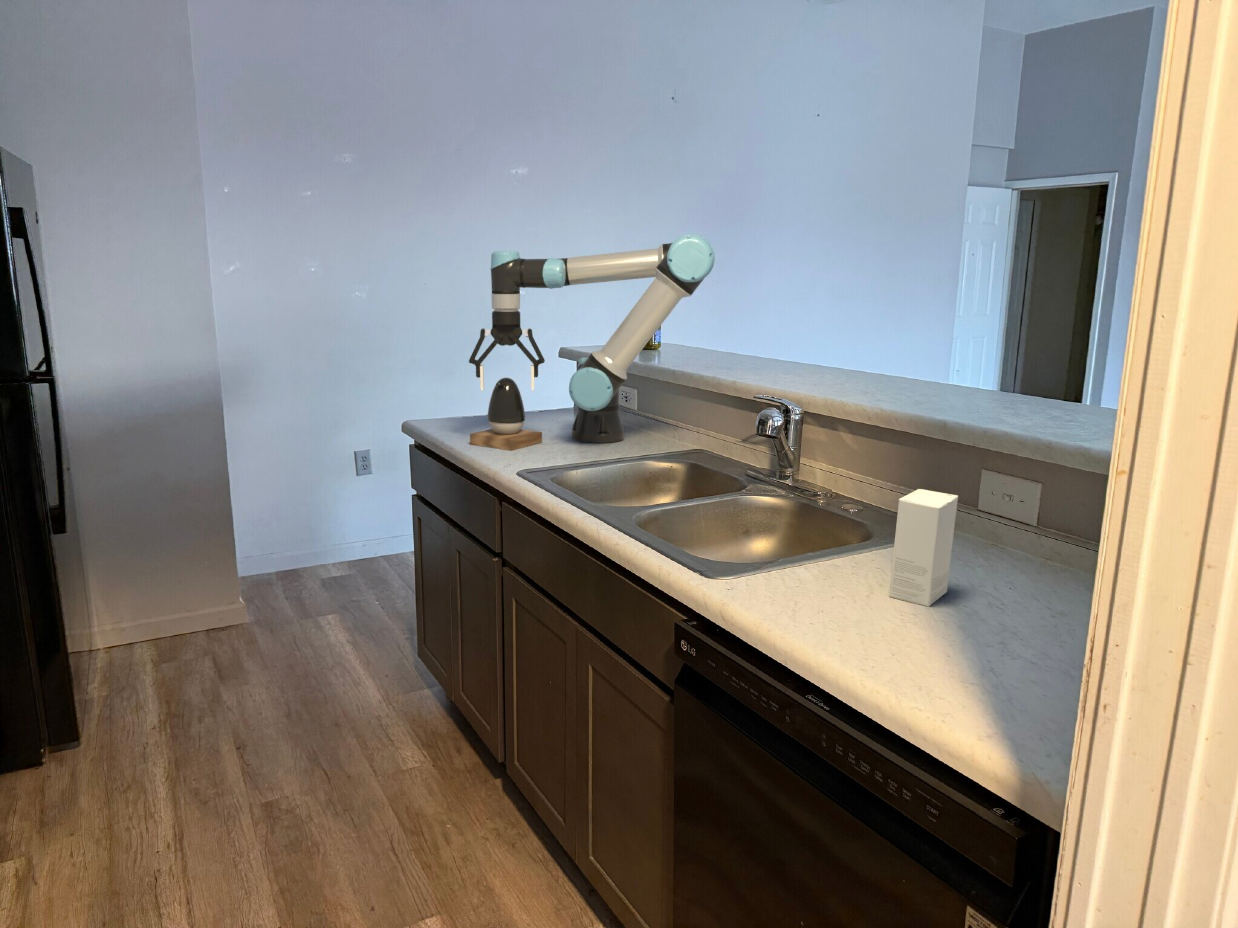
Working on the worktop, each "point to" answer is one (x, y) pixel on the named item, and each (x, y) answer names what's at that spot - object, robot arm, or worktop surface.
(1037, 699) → the worktop surface
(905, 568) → the skincare box
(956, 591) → the worktop surface
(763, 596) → the worktop surface
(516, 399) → the glossy black egg shape
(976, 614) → the worktop surface
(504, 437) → the walnut stand
